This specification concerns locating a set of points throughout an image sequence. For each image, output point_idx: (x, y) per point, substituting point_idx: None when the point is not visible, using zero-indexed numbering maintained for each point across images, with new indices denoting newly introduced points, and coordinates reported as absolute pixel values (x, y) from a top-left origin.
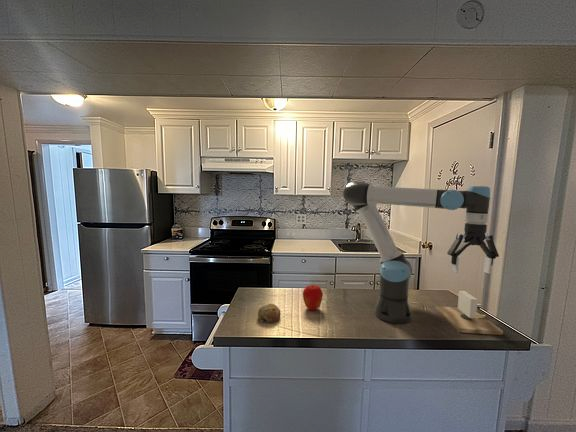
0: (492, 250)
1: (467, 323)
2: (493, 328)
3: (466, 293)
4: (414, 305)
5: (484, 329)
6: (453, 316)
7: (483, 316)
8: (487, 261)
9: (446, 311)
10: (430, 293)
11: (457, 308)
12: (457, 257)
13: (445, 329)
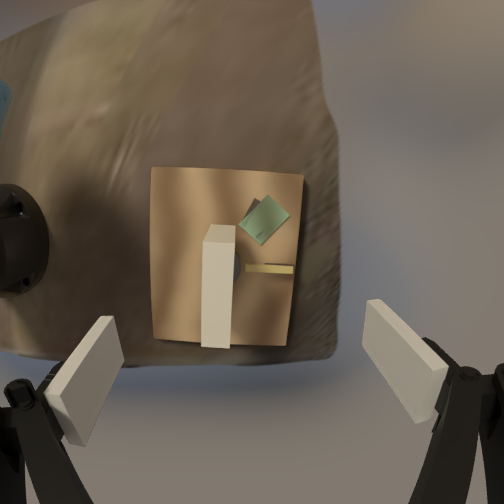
0: (491, 451)
1: (199, 307)
2: (267, 332)
3: (221, 280)
4: (90, 142)
5: (232, 340)
6: (176, 258)
7: (283, 272)
8: (406, 379)
9: (171, 216)
10: (223, 8)
11: (235, 182)
12: (70, 436)
13: (124, 318)
